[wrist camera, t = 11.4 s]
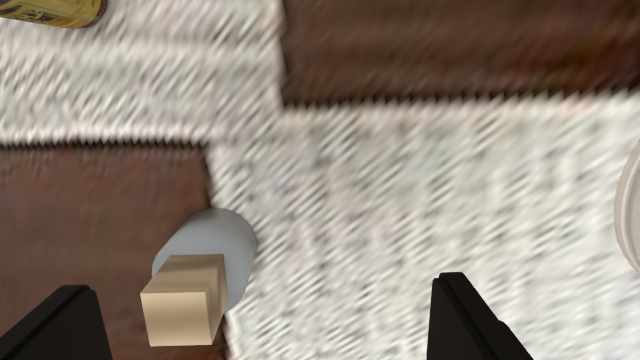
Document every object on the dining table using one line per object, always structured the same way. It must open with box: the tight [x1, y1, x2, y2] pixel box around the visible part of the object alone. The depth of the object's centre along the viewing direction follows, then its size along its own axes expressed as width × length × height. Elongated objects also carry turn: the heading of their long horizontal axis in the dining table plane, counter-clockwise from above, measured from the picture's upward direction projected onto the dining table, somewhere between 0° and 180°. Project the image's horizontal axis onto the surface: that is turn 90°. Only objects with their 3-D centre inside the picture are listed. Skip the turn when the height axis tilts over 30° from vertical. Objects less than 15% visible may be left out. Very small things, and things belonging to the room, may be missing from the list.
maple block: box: [140, 254, 228, 346], centre depth 31 cm, size 5×5×6 cm
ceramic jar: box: [152, 208, 257, 313], centre depth 37 cm, size 9×9×7 cm
